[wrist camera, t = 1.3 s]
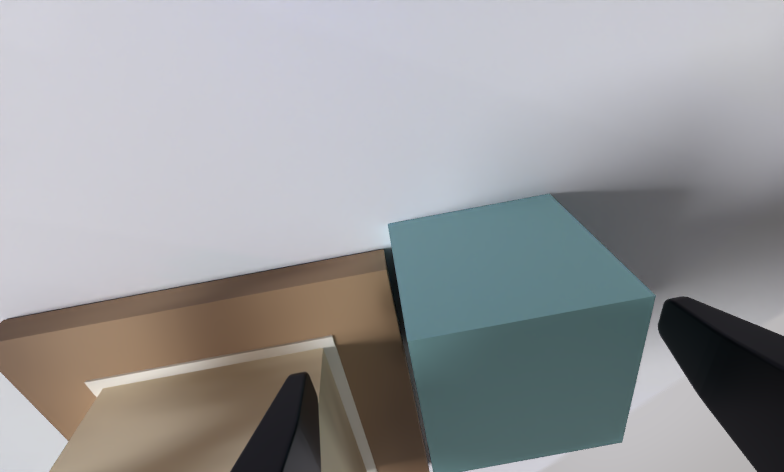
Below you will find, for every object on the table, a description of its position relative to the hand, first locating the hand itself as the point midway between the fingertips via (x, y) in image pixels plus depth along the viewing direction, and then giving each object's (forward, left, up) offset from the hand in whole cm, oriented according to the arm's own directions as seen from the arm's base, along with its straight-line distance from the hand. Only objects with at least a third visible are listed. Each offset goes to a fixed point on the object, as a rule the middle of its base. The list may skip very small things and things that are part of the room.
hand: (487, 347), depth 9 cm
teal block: (0, 0, -3) cm, 3 cm away
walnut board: (+8, +4, -3) cm, 9 cm away
